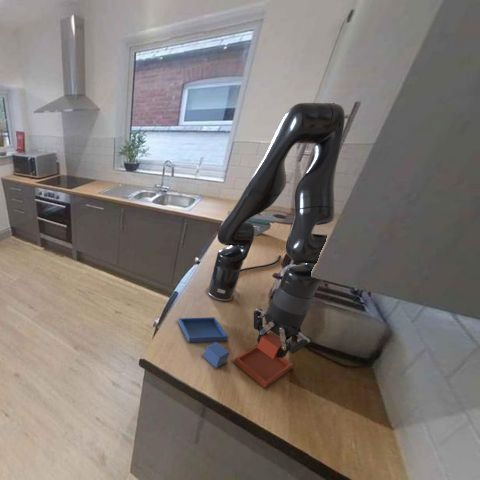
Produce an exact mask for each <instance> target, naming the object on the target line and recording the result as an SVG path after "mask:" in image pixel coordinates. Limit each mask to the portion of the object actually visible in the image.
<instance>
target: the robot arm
mask: <svg viewBox="0 0 480 480" xmlns="http://www.w3.org/2000/svg"><path fill="white" fill-rule="evenodd" d="M345 120H346V114H345V110H344V108H343V106H342V105H340V104H339V103H331V102H299V103H296V104H294V105H292V107H291V108H289V110H287V112H286V113H285V115H284V117H283V118H282V120H281V121H280V123H279V125H278V127H277V128H276V131H275V133H274V135H273V138H272V140H271V142H270V144H269V146H268V148H267V150H266V152H265V154H264V156H263V158H262V159H261V162H260V163H259V165H258V167H257V168H256V170H255V171H254V173H253V175H252V176H251V178H250V179H249V181H248V183H247V185H246V186H245V187H244V189H243V191H242V193H241V195H240V197H239V199H238V200H237V202H236V204H235V205H234V207H233V208H232V209H231V210H230V211H229V212H230V213H229V215H227V216H226V217H225V219H223V221H222V222H221V224H220V226H219V228H218V230H217V241H218V242H219V243H220V244H221V245H223V246H226V247H223V248H220V249H219V250H218V251H217V255H216V258H215V263H214V266H213V270H212V274H211V276H210V277H211V278H210V280H209V281H210V282H209V285H208V288H207V294H208V296H210V297H211V298H213V299H214V300H217V301H220V302H229V301H231V300H232V299H233V297H234V294H235V290H236V289H237V288H236V287H237V285H238V281H239V279H240V277H239V276H240V273H241V272H245V271H249V270H255V269H262V268H267V267H271V266H273V265H276V264H278V263H279V261H280V260H281V258H282V255H281V254H279V255H278V257H277V259H276V260H274V261H273V262H271V263H267V264H263V265H256V266H252V267H245V268H242V267H243V263H244V261H245V260H246V259H247V257H248V255H249V252H250V249H251V248H252V244H253V242H254V239H255V236H256V235H255V229H254V227H255V226H253V225H252V224H251V223H250V222H245V221H247V220H248V219H250V218H252V217H253V216H255V215H260V214H261V213H263V212H265V210H267V209H269V208H270V207H271V206H272V205H274V204H275V202H276V201H277V199H279V197H280V195H281V194H282V193H283V192H284V190H285V188H286V185H287V174H286V167H285V165H286V164H285V163H286V158H287V156H288V155H289V153H290V151H291V149H292V148H293V147H294V146H295V145H296V144H303V145H305V144H306V145H307V144H308V145H309V144H312V145H313V149H314V151H313V152H314V153H313V155H314V156H313V160H312V162H311V164H310V165H309V167H308V169H307V170H306V172H305V173H304V174H303V175H302V177H301V178H300V180H299V181H298V183H297V185H296V188H295V191H294V218H293V221H292V225H291V228H290V231H289V234H288V237H287V239H286V242H285V252H286V255H287V257H288V258H289V259H290V260H291V261H292V262H295V263H299V264H298V265H291V266H289V267H286V269H285V271H284V273H283V274H282V275H283V276H282V277H281V280H280V283H279V285H278V286H277V288H276V289H275V292H274V293H273V295H272V298H271V302H270V303H269V306H268V309H267V311H264V310H263V309H262V308H257V309H256V310H254V311H253V329H254V330H256V331H257V332H258V336H257V338H256V342H257V345H258V344H259V342H260V339H261V337H262V336H264V335H265V334H267V333H269V332H272V333H274V334H276V335H277V336H279V337H280V342H281V348H280V349H279V351H278V353H277V356H276V357H277V358H280V357H281V358H283V357H284V358H286V356H287V354H288V352H289V353H290V354H293V355H294V354H295V353H297V352H299V351H300V350H301V349H303V348H304V347H305V346H307V345H308V344H309V343H311V342H312V341H313V339H312V338H311V337H310V336H306V335H304V334H303V333H302V330H301V327H302V325H303V323H304V320H305V319H306V317H307V315H308V313H309V310H310V308H311V307H312V304H313V300H314V298H315V295H316V293H317V291H318V289H319V287H320V285H321V283H322V282H324V280H318V279H316V278H312V277H311V271H312V269H313V267H314V265H315V264H316V263H317V261H318V258H319V255H320V252H321V250H322V248H323V246H324V244H325V242H326V238H327V235H328V234H322V233H313V230H314V228H315V226H323V225H327V224H329V223H332V222H333V221H334V220H335V177H336V171H337V165H338V160H339V156H340V150H341V145H342V139H343V134H344V129H345V122H346V121H345ZM263 319H265V322H266V325H263V324H264V323H263V322H264V321H263ZM293 337H297V339H296V342H297V343H296V344H295V345H292V340H293Z"/></svg>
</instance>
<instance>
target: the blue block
mask: <svg viewBox="0 0 480 480" xmlns="http://www.w3.org/2000/svg"><path fill="white" fill-rule="evenodd" d="M229 354H230V351H229V350H227V349H226V348H225V347H223V345H221V344H219V342H218V341H215V342H212V343H211V344H209V345H208V346H206V347H205V351H204V355H203V358H204V359H205V360H206V361H207V362H208V363H210V364H211V365H212V366H213V367H214V368H215V369H217V368H219V367H220V366H222V365H224V364H226V363H227V360H228V358H229Z"/></svg>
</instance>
